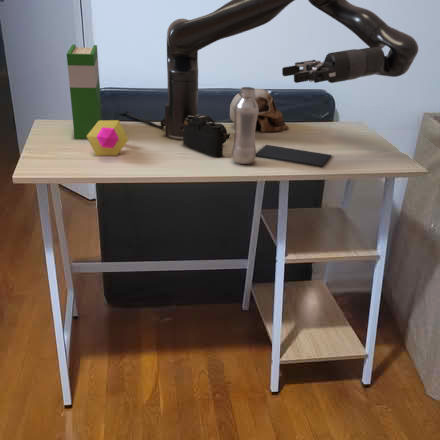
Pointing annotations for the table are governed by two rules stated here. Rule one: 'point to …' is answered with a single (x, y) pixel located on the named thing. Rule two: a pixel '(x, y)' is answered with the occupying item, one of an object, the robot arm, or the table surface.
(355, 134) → the table surface
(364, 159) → the table surface
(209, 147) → the film camera
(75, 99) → the hardback book
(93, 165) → the table surface
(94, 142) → the toy
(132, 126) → the table surface
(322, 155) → the mat
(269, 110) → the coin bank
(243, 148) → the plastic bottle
